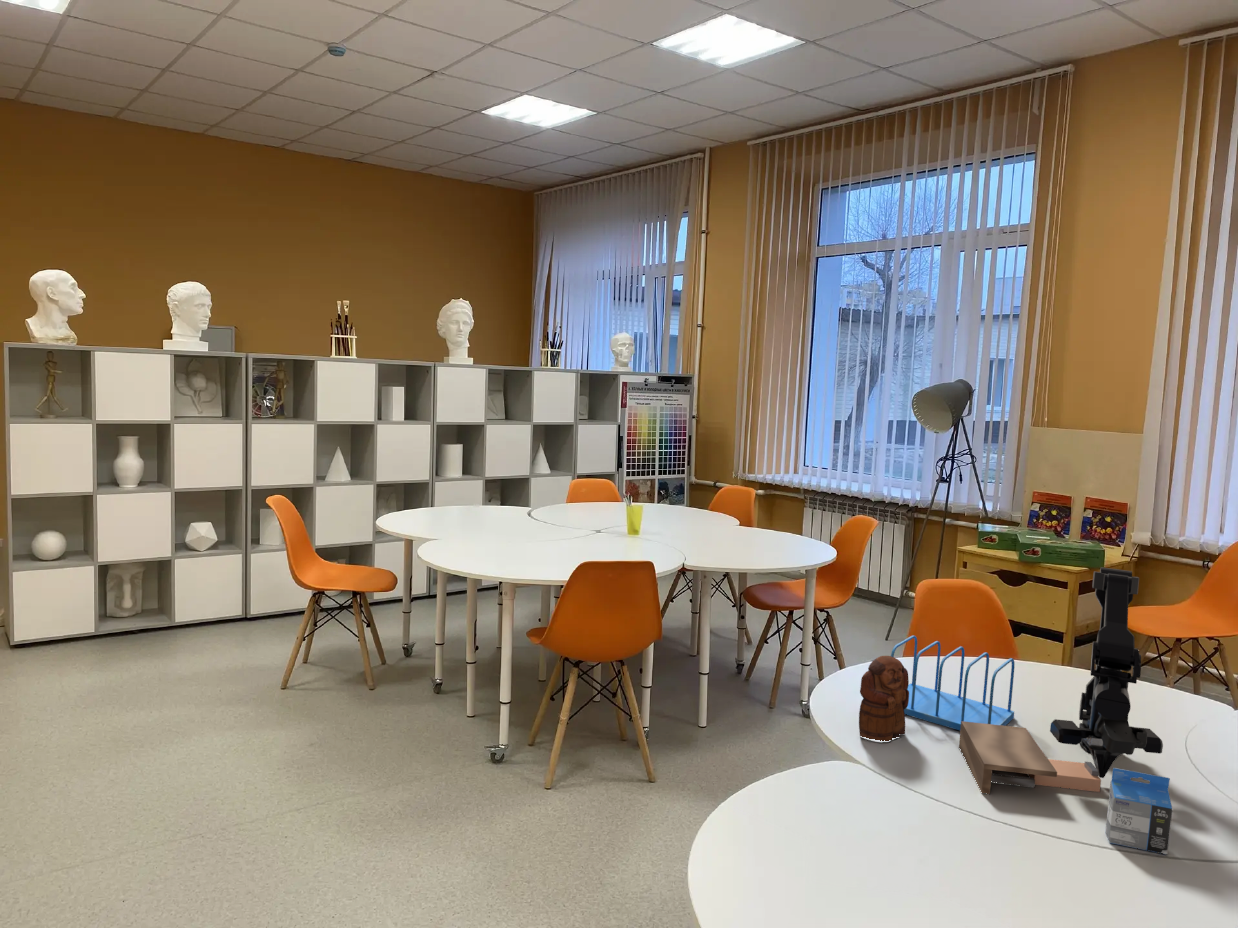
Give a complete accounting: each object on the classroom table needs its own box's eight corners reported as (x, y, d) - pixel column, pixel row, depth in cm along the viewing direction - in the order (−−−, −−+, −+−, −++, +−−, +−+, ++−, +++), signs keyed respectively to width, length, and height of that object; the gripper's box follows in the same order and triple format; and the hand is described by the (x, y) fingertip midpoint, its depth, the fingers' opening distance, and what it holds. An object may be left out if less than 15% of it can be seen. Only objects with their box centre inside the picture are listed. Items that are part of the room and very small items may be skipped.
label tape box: (1108, 843, 146) (1116, 776, 145) (1104, 831, 150) (1112, 766, 149) (1167, 856, 143) (1176, 787, 142) (1162, 843, 147) (1170, 777, 145)
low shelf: (1023, 754, 180) (1025, 727, 179) (1053, 801, 160) (1057, 771, 159) (958, 747, 182) (961, 720, 181) (981, 793, 162) (984, 763, 162)
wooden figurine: (877, 747, 180) (884, 666, 178) (853, 735, 186) (859, 657, 183) (911, 735, 187) (918, 656, 185) (887, 724, 192) (894, 648, 190)
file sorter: (1014, 718, 199) (1020, 655, 197) (991, 742, 186) (998, 675, 184) (909, 689, 215) (914, 631, 213) (882, 709, 202) (886, 646, 200)
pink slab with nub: (1086, 774, 171) (1088, 758, 171) (1099, 791, 165) (1101, 774, 164) (1023, 767, 173) (1025, 751, 173) (1034, 784, 167) (1035, 767, 166)
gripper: (1072, 712, 159) (1064, 791, 161) (1181, 723, 156) (1171, 802, 158) (1053, 690, 170) (1045, 764, 172) (1153, 700, 167) (1144, 775, 169)
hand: (1100, 776), depth 168 cm, fingers closed
